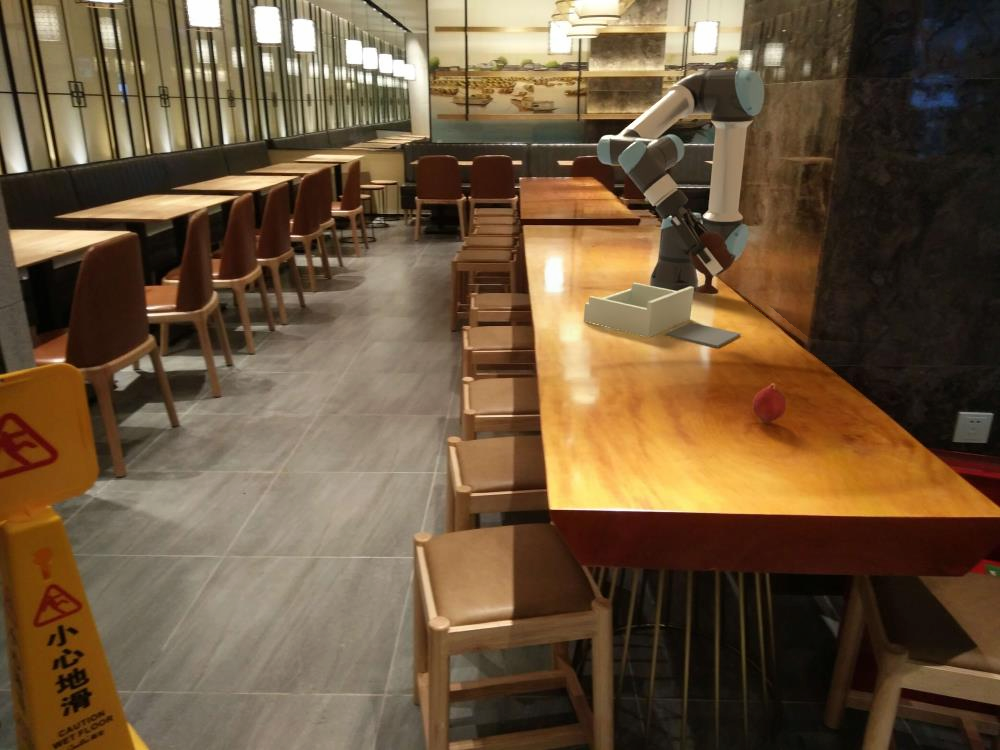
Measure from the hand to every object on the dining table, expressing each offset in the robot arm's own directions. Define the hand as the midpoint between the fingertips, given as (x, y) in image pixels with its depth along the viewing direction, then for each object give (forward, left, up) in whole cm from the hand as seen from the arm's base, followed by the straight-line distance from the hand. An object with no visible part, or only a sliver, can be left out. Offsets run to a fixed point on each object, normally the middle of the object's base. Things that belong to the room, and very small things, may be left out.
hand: (722, 268), depth 181 cm
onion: (+43, +30, -18) cm, 56 cm away
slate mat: (0, -3, -18) cm, 18 cm away
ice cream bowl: (+1, -3, -6) cm, 7 cm away
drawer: (0, -22, -18) cm, 28 cm away
